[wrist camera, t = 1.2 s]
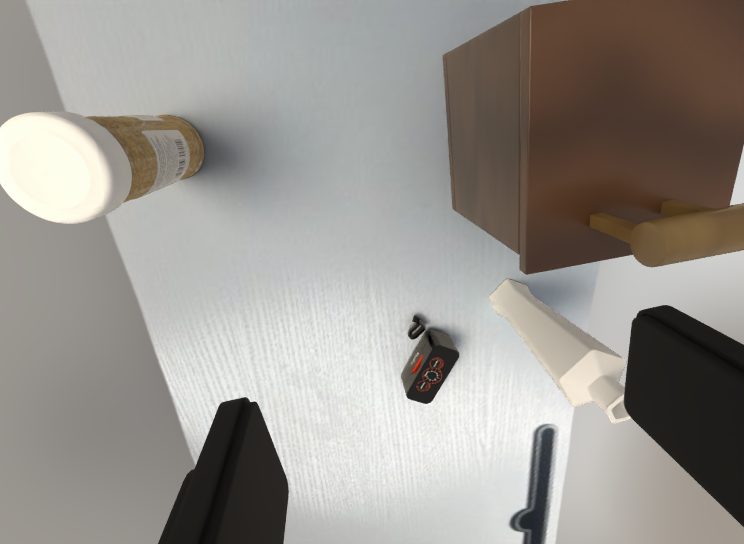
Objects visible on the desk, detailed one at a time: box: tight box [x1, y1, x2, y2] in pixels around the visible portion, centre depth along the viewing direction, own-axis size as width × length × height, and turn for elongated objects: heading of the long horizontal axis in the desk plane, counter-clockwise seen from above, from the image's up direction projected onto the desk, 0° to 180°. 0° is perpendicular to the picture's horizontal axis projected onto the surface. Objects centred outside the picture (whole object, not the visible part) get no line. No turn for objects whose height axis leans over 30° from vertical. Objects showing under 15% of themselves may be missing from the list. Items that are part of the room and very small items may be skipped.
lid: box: [520, 0, 744, 275], centre depth 16 cm, size 12×12×6 cm
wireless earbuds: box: [401, 315, 459, 404], centre depth 35 cm, size 5×7×3 cm, turn 155°
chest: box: [443, 12, 522, 254], centre depth 24 cm, size 12×12×12 cm
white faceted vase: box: [489, 279, 631, 423], centre depth 29 cm, size 5×4×15 cm
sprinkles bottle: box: [0, 112, 204, 224], centre depth 21 cm, size 5×5×14 cm
